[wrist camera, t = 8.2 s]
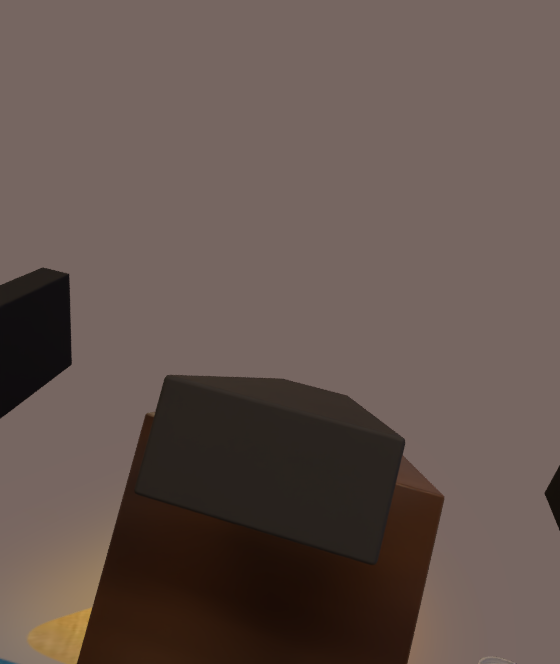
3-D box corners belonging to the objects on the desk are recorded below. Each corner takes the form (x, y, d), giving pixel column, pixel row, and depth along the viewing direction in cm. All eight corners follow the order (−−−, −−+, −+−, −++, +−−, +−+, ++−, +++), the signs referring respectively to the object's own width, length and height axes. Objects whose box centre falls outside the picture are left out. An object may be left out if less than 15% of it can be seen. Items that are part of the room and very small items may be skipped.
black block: (376, 568, 7) (407, 438, 7) (130, 494, 8) (163, 373, 8) (340, 430, 27) (348, 396, 27) (272, 411, 27) (280, 378, 28)
